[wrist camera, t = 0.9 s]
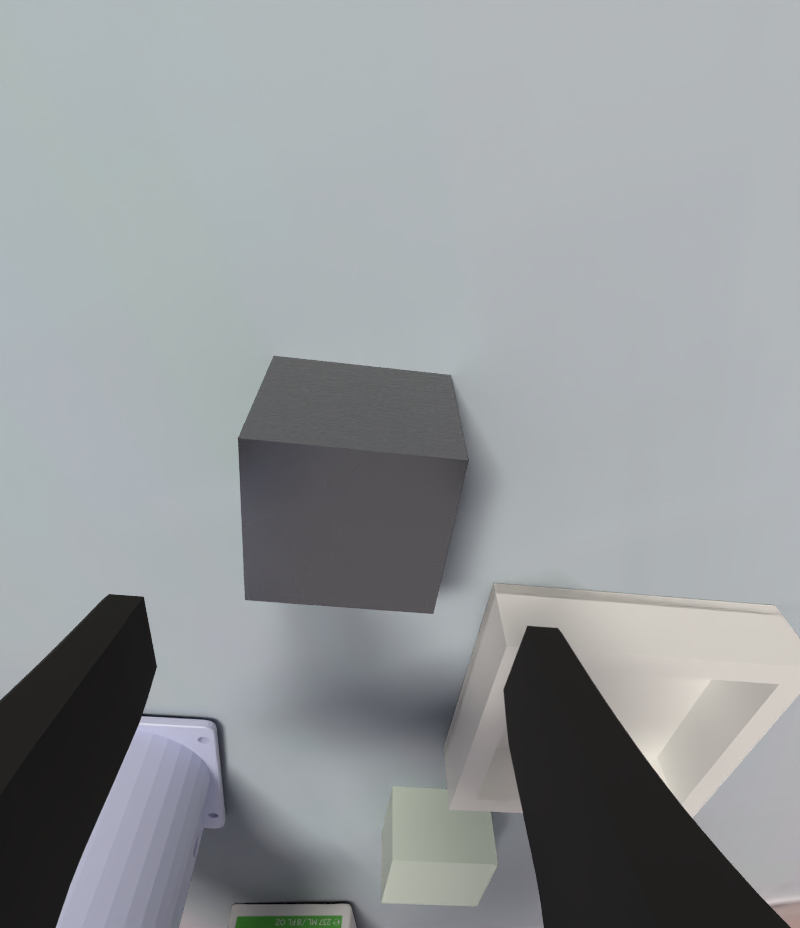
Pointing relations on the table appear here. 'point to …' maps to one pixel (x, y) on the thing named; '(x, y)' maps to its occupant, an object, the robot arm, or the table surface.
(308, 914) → the skincare box
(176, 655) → the table surface
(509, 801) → the box
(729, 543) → the table surface
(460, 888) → the pale green box
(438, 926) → the table surface
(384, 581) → the metal block
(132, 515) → the table surface
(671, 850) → the robot arm
